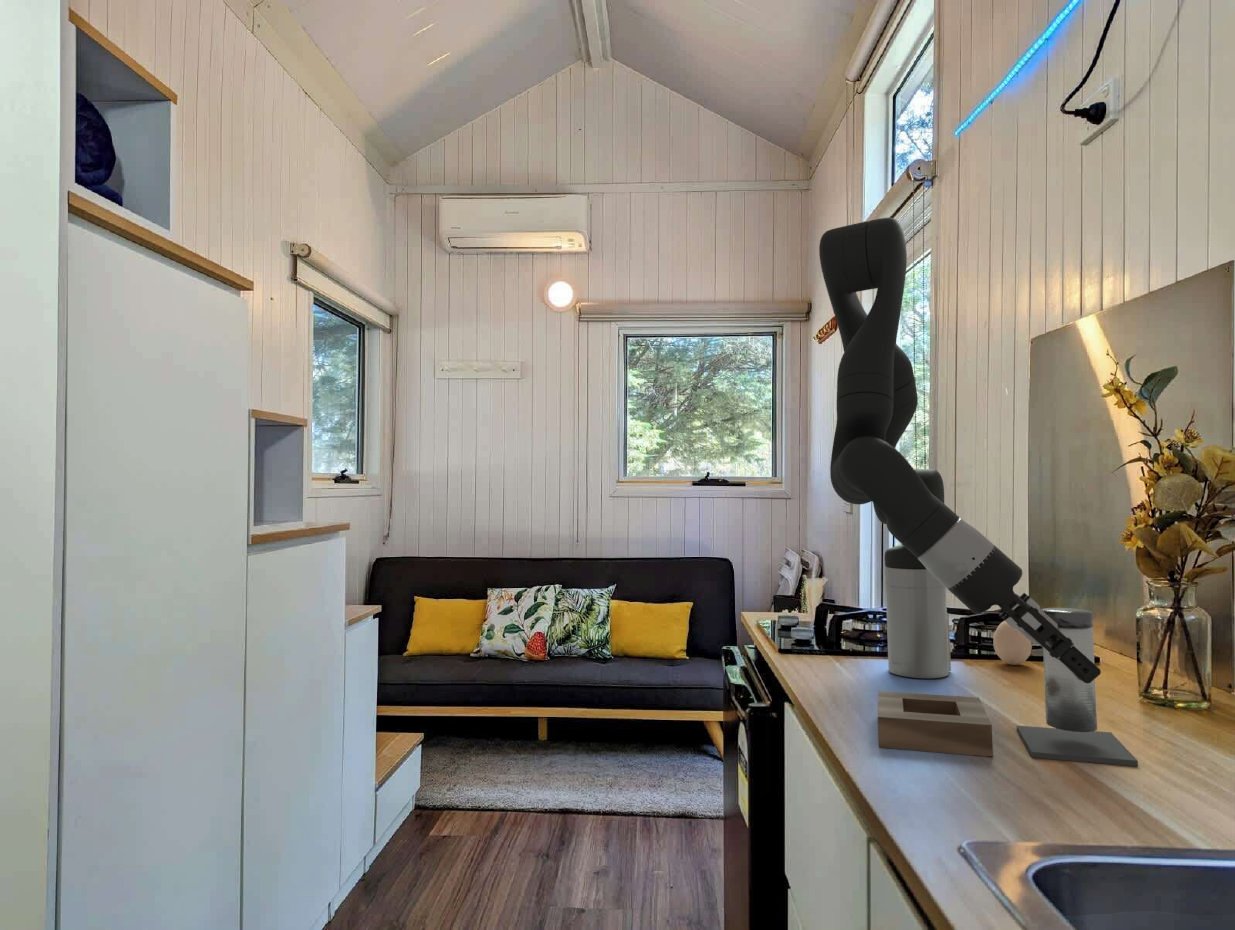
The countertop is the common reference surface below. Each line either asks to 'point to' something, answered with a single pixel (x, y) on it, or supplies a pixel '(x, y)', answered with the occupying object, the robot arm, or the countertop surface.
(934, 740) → the walnut holder
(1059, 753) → the rubber mat
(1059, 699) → the grey lidded canister
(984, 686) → the countertop surface
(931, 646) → the robot arm
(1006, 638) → the egg
